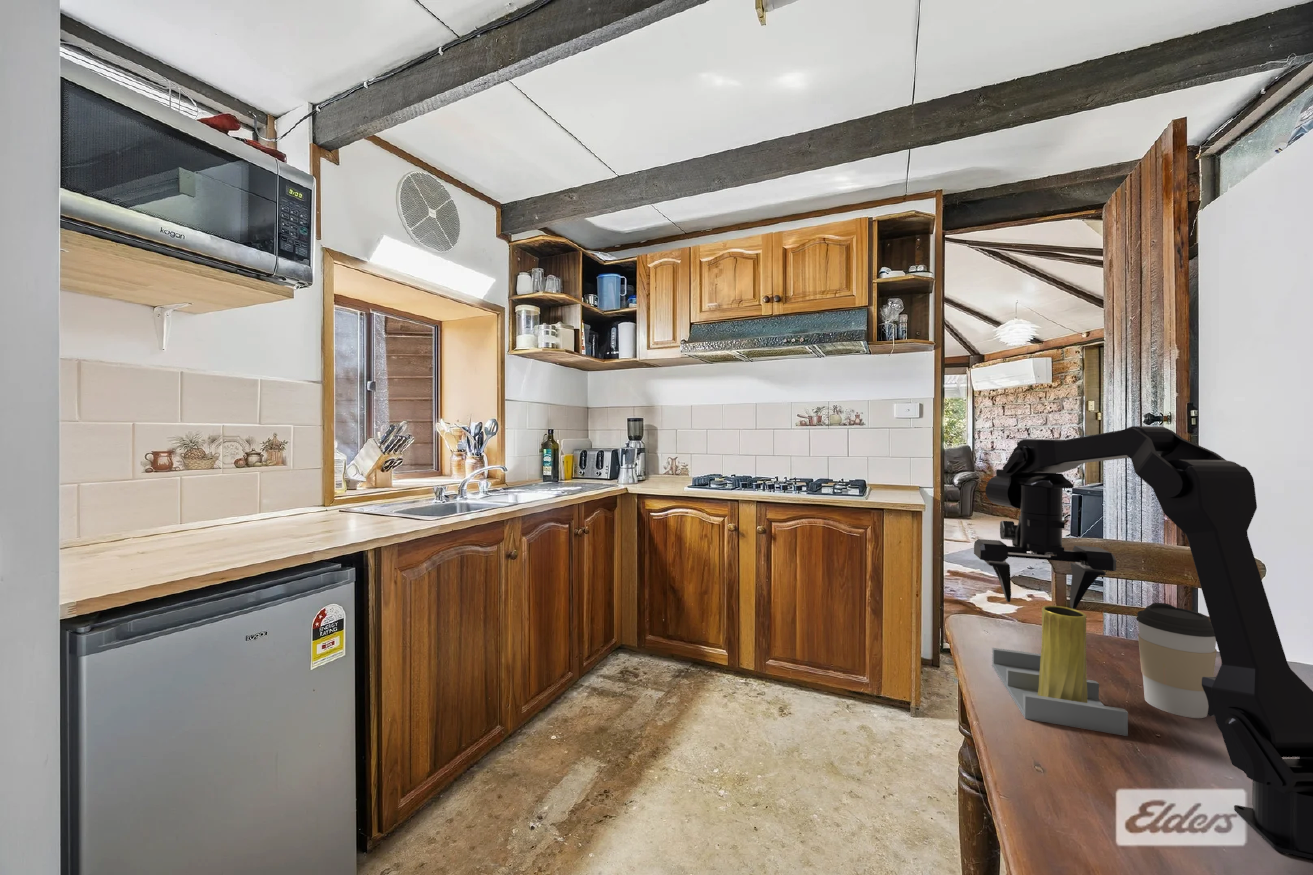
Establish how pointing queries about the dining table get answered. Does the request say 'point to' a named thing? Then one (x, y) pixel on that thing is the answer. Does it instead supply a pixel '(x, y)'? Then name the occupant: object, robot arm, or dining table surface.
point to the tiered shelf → (1023, 687)
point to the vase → (1063, 654)
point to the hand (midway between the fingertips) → (1039, 604)
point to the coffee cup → (1176, 658)
